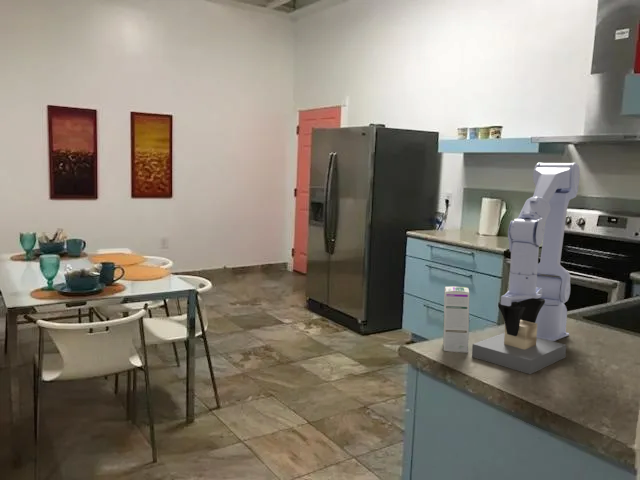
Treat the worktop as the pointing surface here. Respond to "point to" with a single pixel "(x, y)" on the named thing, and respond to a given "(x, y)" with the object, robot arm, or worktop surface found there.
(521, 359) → the plate
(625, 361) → the worktop surface
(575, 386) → the worktop surface
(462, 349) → the syrup box
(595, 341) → the worktop surface
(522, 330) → the birch block
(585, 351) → the worktop surface
